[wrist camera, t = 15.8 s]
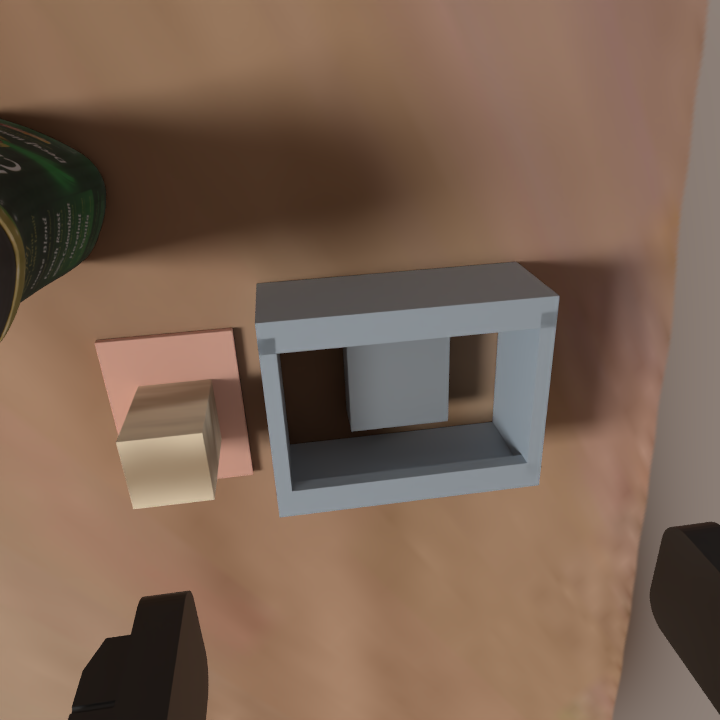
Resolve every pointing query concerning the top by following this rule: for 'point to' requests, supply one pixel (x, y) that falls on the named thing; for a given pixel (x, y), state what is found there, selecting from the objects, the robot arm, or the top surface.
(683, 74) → the top surface
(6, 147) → the coffee jar
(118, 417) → the terracotta mat
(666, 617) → the robot arm
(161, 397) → the maple block
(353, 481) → the box
